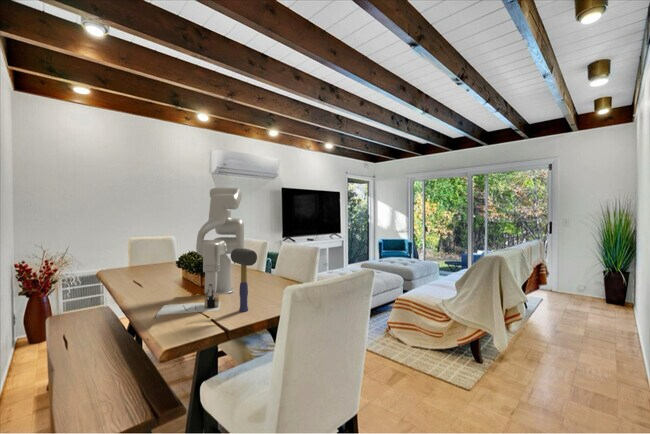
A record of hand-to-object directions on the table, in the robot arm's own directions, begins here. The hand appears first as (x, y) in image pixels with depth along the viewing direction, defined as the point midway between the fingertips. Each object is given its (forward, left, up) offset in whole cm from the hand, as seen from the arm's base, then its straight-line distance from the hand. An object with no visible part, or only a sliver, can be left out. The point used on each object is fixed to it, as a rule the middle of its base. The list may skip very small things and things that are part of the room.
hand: (211, 305), depth 144 cm
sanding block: (0, 0, 0) cm, 0 cm away
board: (0, -9, -2) cm, 9 cm away
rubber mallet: (+10, +15, -2) cm, 18 cm away
